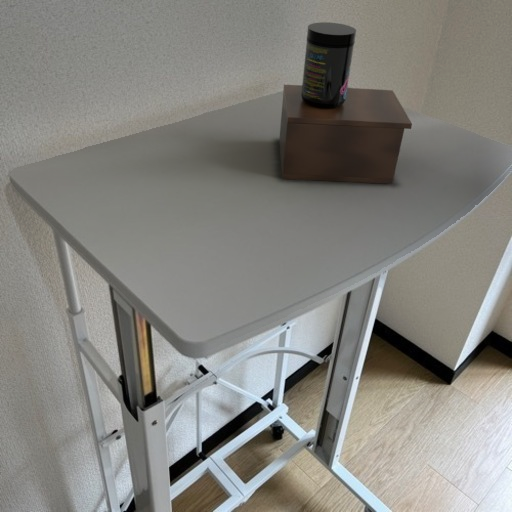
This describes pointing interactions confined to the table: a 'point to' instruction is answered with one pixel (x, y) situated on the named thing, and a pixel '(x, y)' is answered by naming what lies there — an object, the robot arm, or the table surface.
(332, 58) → the supplement container
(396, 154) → the chest
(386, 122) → the lid
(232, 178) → the table surface
